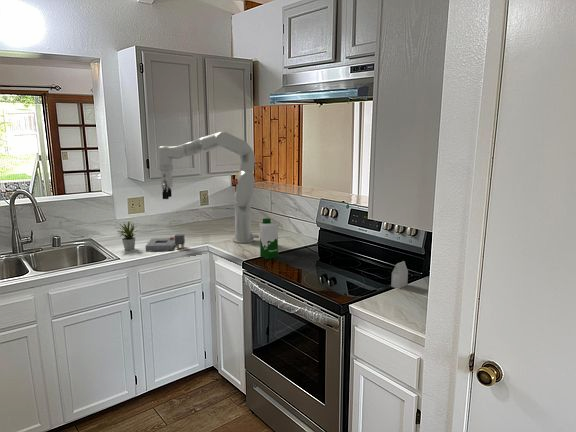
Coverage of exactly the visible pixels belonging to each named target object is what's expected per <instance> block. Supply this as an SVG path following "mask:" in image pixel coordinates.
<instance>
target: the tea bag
mask: <svg viewBox="0 0 576 432" xmlns="http://www.w3.org/2000/svg"><path fill="white" fill-rule="evenodd" d="M408 275H409V270H408V268H407V265H406V261H404V260H402V261H401V262H398V263H396V264H395V266H394V268H393V270H392V272H391V280H390V281H391V283H390V287H391V288H394V289H401V288H404V287H406V286H407V285H408V279H409V276H408Z"/></svg>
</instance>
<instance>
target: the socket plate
mask: <svg viewBox="0 0 576 432" xmlns="http://www.w3.org/2000/svg"><path fill="white" fill-rule="evenodd" d="M175 247H176V246H175V236H170V237H159V238H158V237H157V238H155V237H154V238H151V239H149V241H148V242H147V243H146V245H145V252H161V251H163V252H164V251H165V252H166V251H172V250H173V249H174V248H175Z"/></svg>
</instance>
